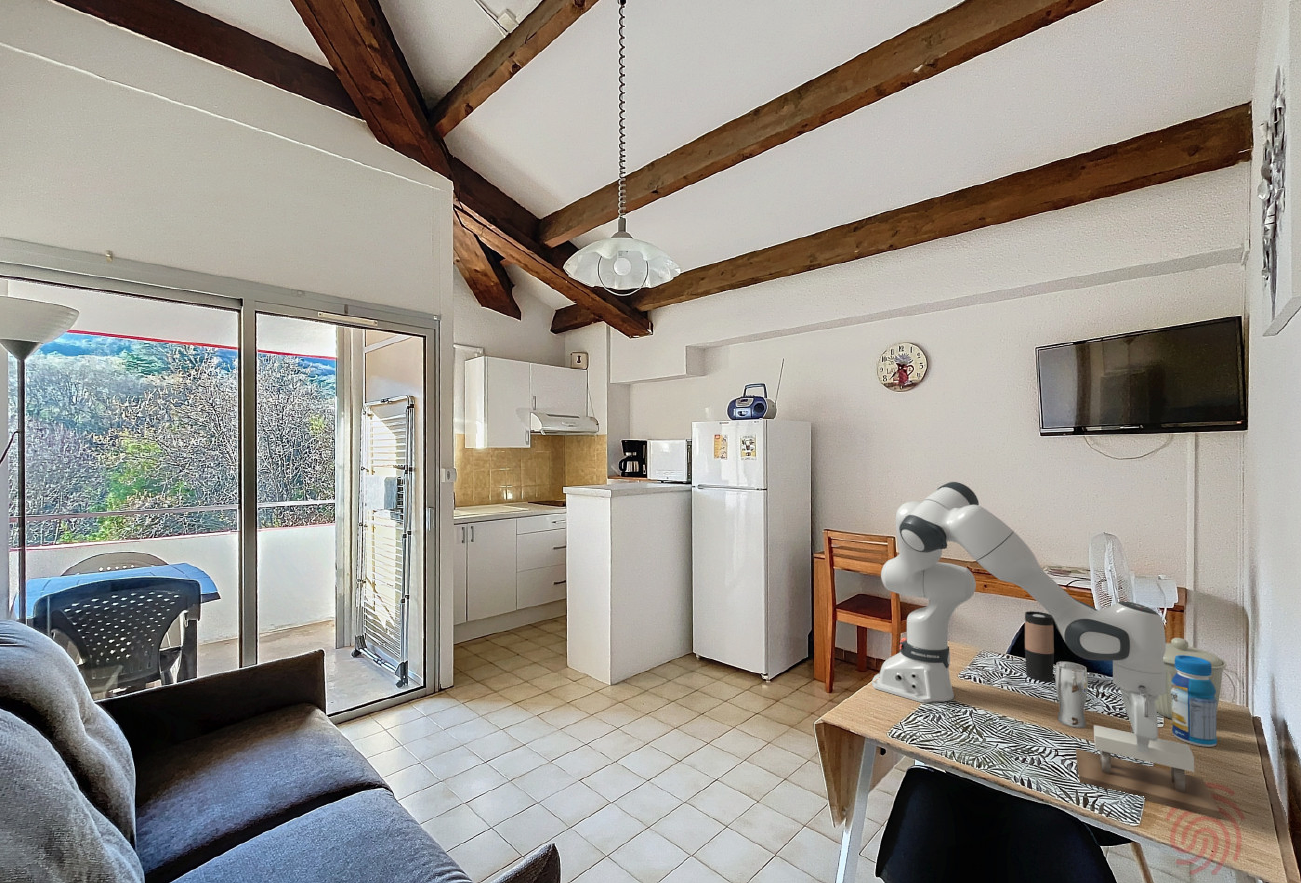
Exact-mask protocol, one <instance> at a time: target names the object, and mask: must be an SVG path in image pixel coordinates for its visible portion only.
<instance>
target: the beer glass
mask: <svg viewBox="0 0 1301 883" xmlns="http://www.w3.org/2000/svg"><path fill="white" fill-rule="evenodd" d="M1055 666H1056V667H1055V675H1054V676H1055V689H1056V692H1057V694H1056V695H1057V699H1058V704H1059V706H1058V708H1059V710H1058V716H1057V720H1058V722H1059V723H1061V724H1062V725H1063V726H1064V725H1066V726H1067V727H1070V728H1077V729H1082V728H1083V729H1084V728H1086V727H1087V722H1086V717H1085V707H1086V701H1087V695H1088V690H1089V689H1088V688H1089V687H1088V686H1089V683H1088V680H1089V679H1088V673H1087V667H1086V666H1084V665H1082V664H1079V663H1075V662H1072V661H1071V662H1070V661H1058V662H1056V664H1055Z"/></svg>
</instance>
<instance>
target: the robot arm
mask: <svg viewBox="0 0 1301 883" xmlns="http://www.w3.org/2000/svg"><path fill="white" fill-rule="evenodd" d="M979 504H980V502H979V499H978V496H977V495H976V493H975V492H974V491H973V490H972V489H971V488H970V487H969V486H967V485H965V483H964V484H963V483H961V482H958V481H950V482H947V483H945V484H942V485H941V486H939V487H938V488H937V489H936V490H935V491H934V492H932V493H931V494H929V495H928V496H926V497H925V498H924V499H923V500H922V501H918V500H917V501H916V500H915V501H914V500H912V501H907V502H905V503H902V505H900V506H899V507H898V509H897V510H896V513H895V533H896V538H897V544H898V550H899V553H898V555H897V556H895V557H893V558H891V559H888V560H886V562H885V563H884V564H883V566H882V569H881V571H880V578H881V579H880V580H881V583H882V584H883V586H884V588H885V589H886V590H887V591H890V592H892V593H896V594H898V595H902V596H905V597H906V596H907V597H914V598H922V599H926V600H927V599H928V605H926V606H924V607H920V608H917V609H914V610H913V611H911V612H910V613H909V614H908V615H907V618H906V637H902V638H901V640H900V641H899V642H900V643H899V652H898V653H896V654H894V655H893V656H891V657H889V658H887V659H886V660H885V661H884V662H883V663H882V665H881V667H880V671H879V673H877V674H875V675H874V677H873V678H872V681H871V685H872V688H874V689H875V690H879V691H882V692H886V693H889V694H892V695H896V696H899V697H902V698H906V699H908V700H909V699H910V700H913V701H916V702H920V703H923V704H925V703H927V704H928V703H931V702H932V703H933V702H945V701H946V702H947V701H951V700H953V699H954V697H955V692H954V690H953V687H952V682H951V677H950V676H951V675H950V670H949V669H950V665H951V660H950V659H951V657H950V656H951V652H950V646H949V644H948V643H949V642H948V637H949V625H950V620H951V617H952V615H953V613H954V612H955V610H956V609H957V608H959V607H960V606H961V605H962V604H964V603H965V602H968V601H969V600H970V599H972V597H973V596H974V594H975V593H976V587H977V583H976V579H975V576H974V574H973V573H972V571H971V570H970V569H969V568H967V567H965V566H961V565H958V564H954V563H949V562H940V559H941V558H942V555H943V550H945V549H947V547H948V542H953V543H956V544H958V545H960V546H961V547H962V548H963V549H964V550H965V551H966V552H967V554H969V556H971V557H972V558H973V559H974V560H975V561H976V562H977V563H978V565H979V566H981V567H982V568H983V569H984V570H986V571H987V572H988V573H989V574H991V575H993V577H995V578H997V579H998V580H999V581H1002V582H1006V583H1010V584H1014V585H1015V586H1019V587H1020V588H1021V589H1023V590H1024V591H1026V593H1027V594H1029V596H1030V597H1032V598H1033V599H1034V600H1035V601H1036V602H1037V603H1039V605H1040V606H1041V607H1042V608H1044V609H1045V610H1046V611H1047V612H1048V614H1050V615H1051V616H1052V617H1053V623H1054V624H1055V627H1056V629H1057V631H1058V633H1059V634H1060V635H1061V637H1062V639H1063V640H1064V643H1065V644H1066V646H1067V647H1068V649H1069V650H1070V651H1071V652H1072V653H1073V654H1075V656H1078V657H1079V658H1082V659H1084V660H1087V661H1088V660H1089V661H1107V662H1108V661H1112V681H1113V682H1112V683H1113V684H1114V685H1115V686H1116V687H1118V688H1119V690H1120V692H1121V697H1122V701H1123V705H1124V708H1125V711H1126V713H1127V716H1128V719H1129V723H1130V725H1131V728H1130V729H1131V733H1134V734H1135V736H1136V738H1137V740H1136V747H1137V750H1138V751H1139V752H1143V753H1148V745H1149V741H1150V740H1151V741H1157V738H1158V737H1159V733H1158V732H1159V731H1158V730H1159V729H1158V727H1159V726H1158V713H1157V709H1156V704H1155V701H1156V700H1158V699H1159V698H1158V695H1164V694H1165V693H1166V667H1165V665H1164V661H1163V657H1164V654H1165V651H1166V643H1167V642H1166V633H1165V632H1166V631H1165V625H1164V621H1163V619H1162V616H1161V615H1160V614H1159V613H1158V612H1156V611H1155V610H1154V609H1152V608H1150V607H1149V606H1145V605H1143V604H1139V603H1135V602H1131V601H1123V600H1122V601H1117V602H1115V604H1112V605H1110V606H1108V607H1105V608H1102V609H1098V608H1096V607H1094V606H1092V605H1090V604H1088V603H1085V602H1083V601H1080V600H1078V599H1076V598H1075V597H1073V596H1072V595H1070V594H1069V593H1068V592H1067V591H1066V590H1065V589H1064V588H1063V587H1061V586H1060V584H1058V583H1057V582H1056V581H1055V580H1054V579H1052V578H1051V577H1050V576H1049V575H1048V574H1047V573H1046V572H1045V570H1044V569H1043V568H1042V567H1041V565H1040V564H1039V562H1038V559H1037V558H1036V555H1035V554H1034V553H1033V551H1032V550H1031V548H1030V547H1029V545H1028V544H1026V542H1025V540H1023V539H1022V538H1021V536H1019V535H1018V533H1017V532H1015V530H1013V529H1012V528H1011V527H1010V526H1008V525H1007V524H1006V523H1005V522H1004V521H1003V520H1001V519H1000V518H998V516H996V515H995V514H994V513H992V512H991V511H989V510H987V509H986V508H984V507H983V506H981V505H979ZM879 677H880V678H879ZM876 679H878V680H877V681H875V682H873V681H874V680H876ZM1158 739H1159V738H1158Z"/></svg>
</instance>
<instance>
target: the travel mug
mask: <svg viewBox="0 0 1301 883" xmlns="http://www.w3.org/2000/svg"><path fill="white" fill-rule="evenodd" d="M1054 644H1055V642H1054V619H1053V617H1052V616H1051V615H1050V613H1045V612H1043V611H1035V610H1034V611H1031V610H1030V611H1025V613H1024V653H1025V654H1024V655H1025V674H1026V676H1027V678H1029V677H1030V678H1029V679H1032V678H1033V679H1032V680H1034V679H1036V680H1035V681H1038V680H1039V682H1052V681H1054V657H1055V656H1054V655H1055V648H1054V647H1055V646H1054Z"/></svg>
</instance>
